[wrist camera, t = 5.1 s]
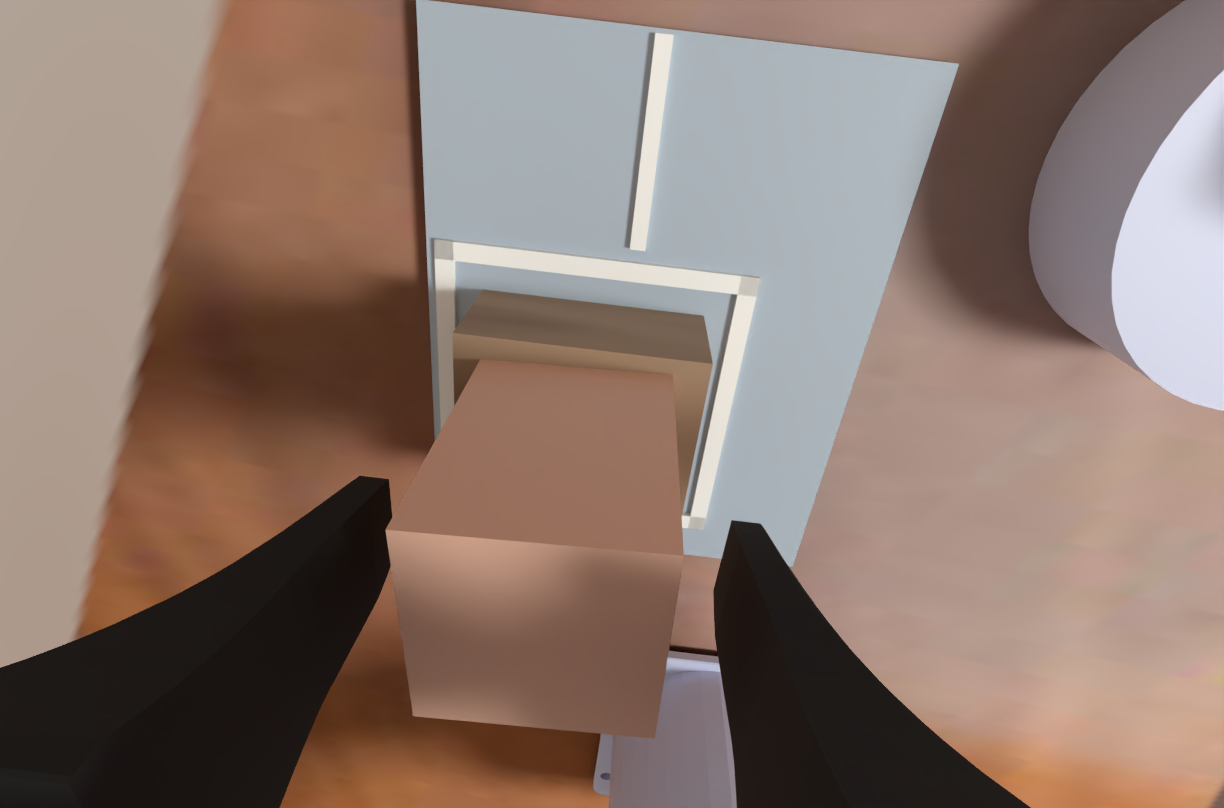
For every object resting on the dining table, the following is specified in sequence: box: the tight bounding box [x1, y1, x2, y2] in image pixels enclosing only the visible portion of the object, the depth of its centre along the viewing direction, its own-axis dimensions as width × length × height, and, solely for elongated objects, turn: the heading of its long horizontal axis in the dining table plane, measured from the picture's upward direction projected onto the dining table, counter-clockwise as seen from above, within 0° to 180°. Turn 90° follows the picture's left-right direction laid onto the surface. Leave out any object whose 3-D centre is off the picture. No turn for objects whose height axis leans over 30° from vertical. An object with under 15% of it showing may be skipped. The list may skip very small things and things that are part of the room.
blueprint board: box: [416, 0, 959, 567], centre depth 18 cm, size 15×12×1 cm
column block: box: [386, 359, 684, 739], centre depth 13 cm, size 4×4×6 cm
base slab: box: [452, 289, 713, 517], centre depth 17 cm, size 6×6×3 cm
